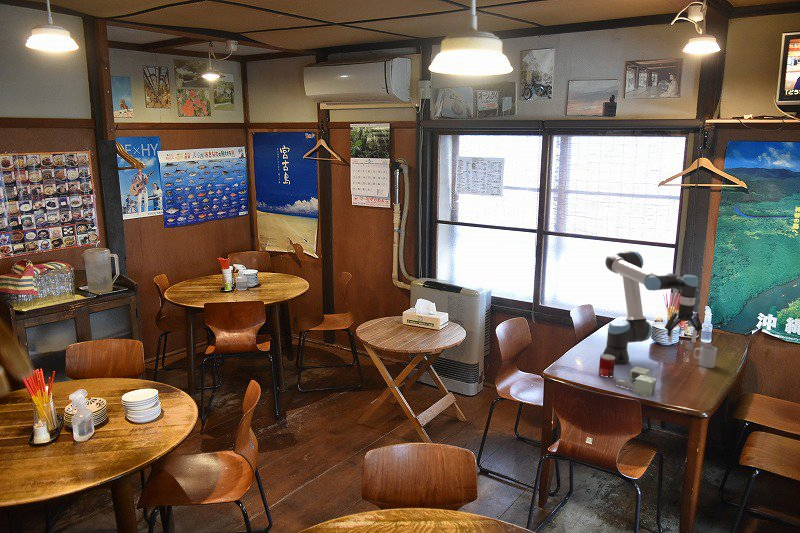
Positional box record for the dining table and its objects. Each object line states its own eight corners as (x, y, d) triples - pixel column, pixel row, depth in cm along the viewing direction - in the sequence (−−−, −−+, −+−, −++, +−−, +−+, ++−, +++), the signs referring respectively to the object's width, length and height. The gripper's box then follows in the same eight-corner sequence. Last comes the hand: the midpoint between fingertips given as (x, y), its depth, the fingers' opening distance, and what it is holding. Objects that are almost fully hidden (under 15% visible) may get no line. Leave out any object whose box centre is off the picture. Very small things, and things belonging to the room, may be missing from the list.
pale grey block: (614, 387, 328) (615, 373, 326) (619, 383, 333) (620, 369, 332) (649, 397, 316) (651, 382, 315) (654, 393, 322) (656, 378, 320)
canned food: (611, 379, 339) (613, 360, 337) (596, 375, 343) (598, 356, 341) (614, 374, 345) (616, 355, 343) (600, 371, 350) (602, 352, 347)
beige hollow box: (634, 380, 338) (635, 366, 337) (647, 384, 334) (649, 369, 332) (628, 384, 332) (630, 370, 330) (642, 388, 327) (644, 374, 326)
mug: (715, 364, 365) (718, 347, 363) (713, 369, 358) (715, 351, 356) (693, 360, 372) (696, 342, 369) (690, 364, 365) (693, 346, 363)
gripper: (668, 305, 326) (663, 344, 331) (713, 306, 329) (707, 344, 334) (661, 301, 334) (656, 339, 338) (704, 302, 336) (699, 339, 341)
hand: (681, 341), depth 336 cm, fingers open, 13 cm apart
